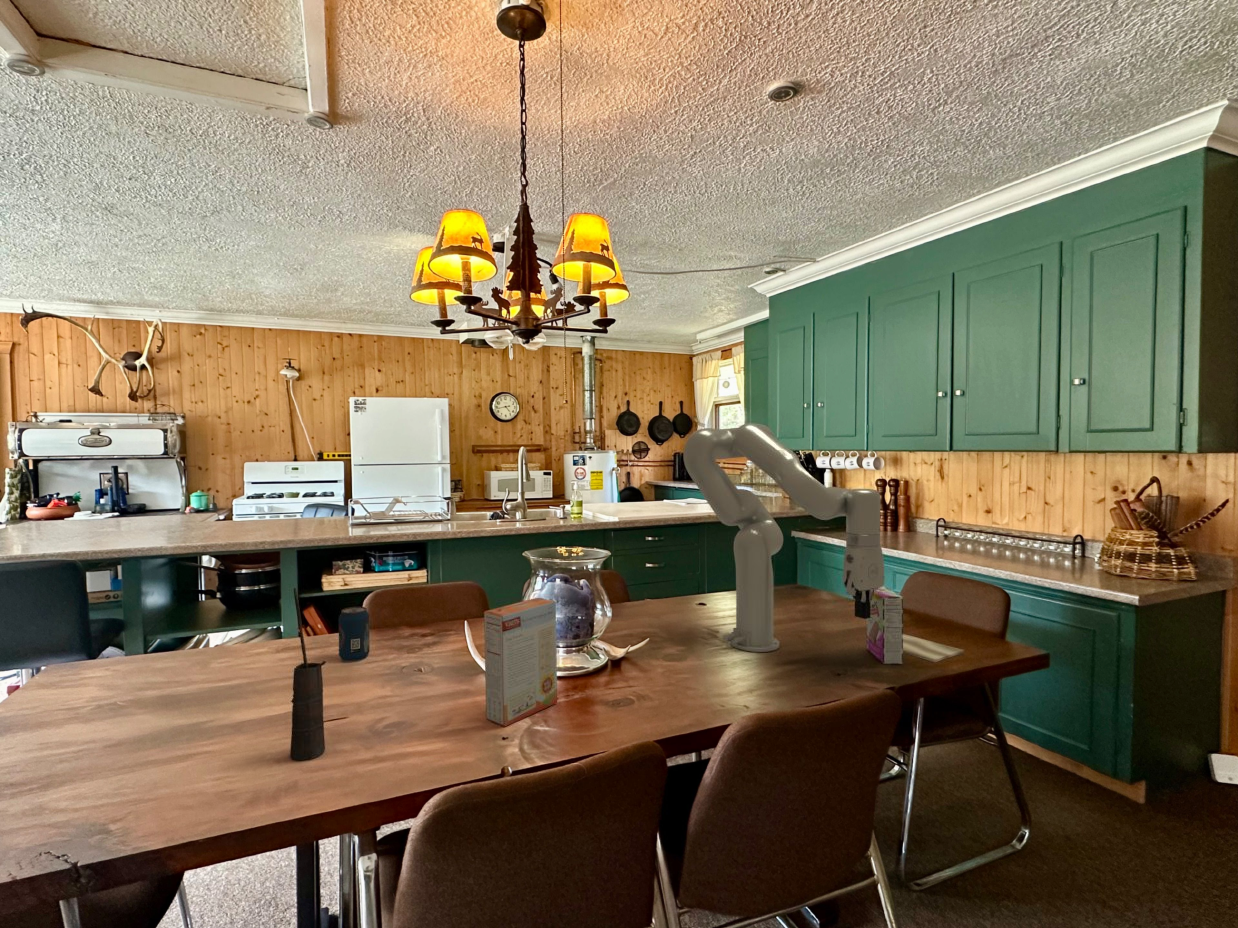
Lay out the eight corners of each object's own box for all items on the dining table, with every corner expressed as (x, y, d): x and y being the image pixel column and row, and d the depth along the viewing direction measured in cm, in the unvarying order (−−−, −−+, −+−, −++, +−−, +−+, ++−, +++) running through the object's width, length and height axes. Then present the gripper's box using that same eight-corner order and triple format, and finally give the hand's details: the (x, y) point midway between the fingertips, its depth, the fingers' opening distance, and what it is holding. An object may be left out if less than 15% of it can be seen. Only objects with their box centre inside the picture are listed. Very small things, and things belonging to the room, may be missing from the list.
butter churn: (351, 736, 109) (350, 580, 109) (335, 763, 100) (333, 592, 99) (296, 740, 108) (294, 581, 107) (274, 768, 98) (272, 594, 98)
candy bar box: (864, 649, 157) (865, 585, 157) (884, 649, 157) (884, 585, 157) (882, 664, 146) (883, 596, 146) (903, 664, 146) (904, 596, 146)
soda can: (338, 655, 152) (337, 607, 152) (368, 651, 156) (367, 604, 155) (339, 664, 146) (339, 614, 146) (370, 660, 149) (370, 611, 149)
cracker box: (537, 696, 127) (537, 595, 127) (558, 703, 123) (558, 600, 123) (483, 719, 116) (482, 609, 116) (504, 728, 113) (503, 614, 112)
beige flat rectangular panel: (935, 662, 148) (935, 659, 148) (868, 642, 163) (868, 640, 163) (964, 652, 155) (964, 650, 155) (898, 634, 170) (898, 632, 170)
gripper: (856, 545, 139) (856, 625, 139) (896, 540, 147) (895, 616, 147) (829, 541, 145) (828, 618, 146) (868, 536, 153) (868, 609, 154)
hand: (862, 617), depth 147 cm, fingers closed
